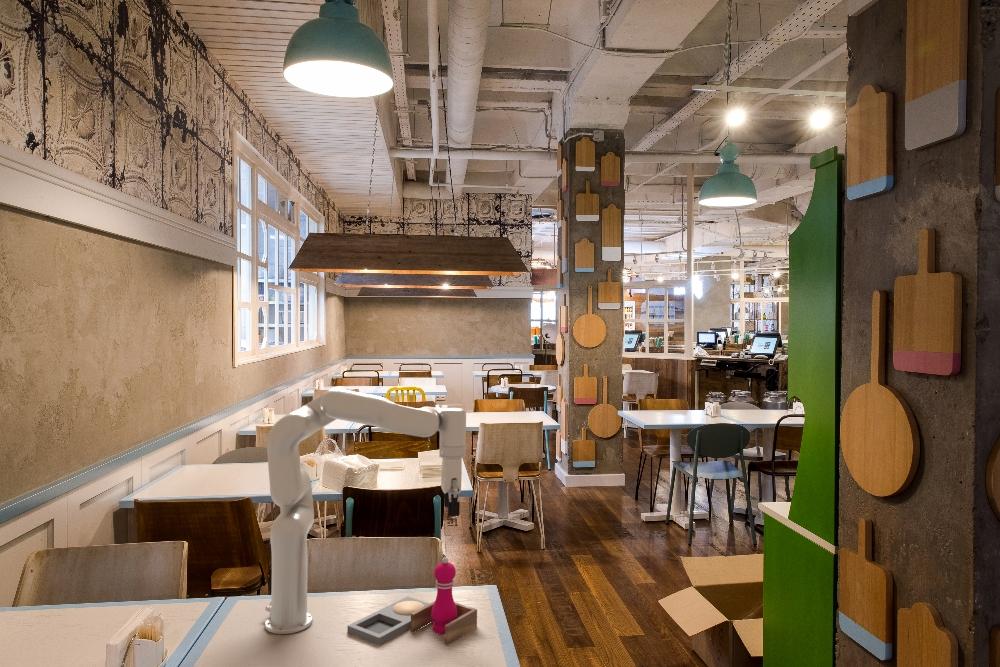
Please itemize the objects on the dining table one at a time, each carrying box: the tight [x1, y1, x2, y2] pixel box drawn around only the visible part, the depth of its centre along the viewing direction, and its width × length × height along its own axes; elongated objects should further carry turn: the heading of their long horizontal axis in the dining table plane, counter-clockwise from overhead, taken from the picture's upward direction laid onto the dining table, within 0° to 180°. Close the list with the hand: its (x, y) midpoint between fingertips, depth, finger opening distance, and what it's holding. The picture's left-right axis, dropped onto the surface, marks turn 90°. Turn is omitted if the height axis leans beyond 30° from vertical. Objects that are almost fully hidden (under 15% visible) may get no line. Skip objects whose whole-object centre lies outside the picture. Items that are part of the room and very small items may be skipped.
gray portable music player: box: [346, 596, 430, 646], centre depth 181 cm, size 12×24×2 cm, turn 146°
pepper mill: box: [431, 556, 457, 636], centre depth 177 cm, size 7×7×20 cm
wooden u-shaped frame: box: [410, 600, 478, 646], centre depth 177 cm, size 13×13×5 cm
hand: (451, 511), depth 184 cm, fingers open, 9 cm apart
